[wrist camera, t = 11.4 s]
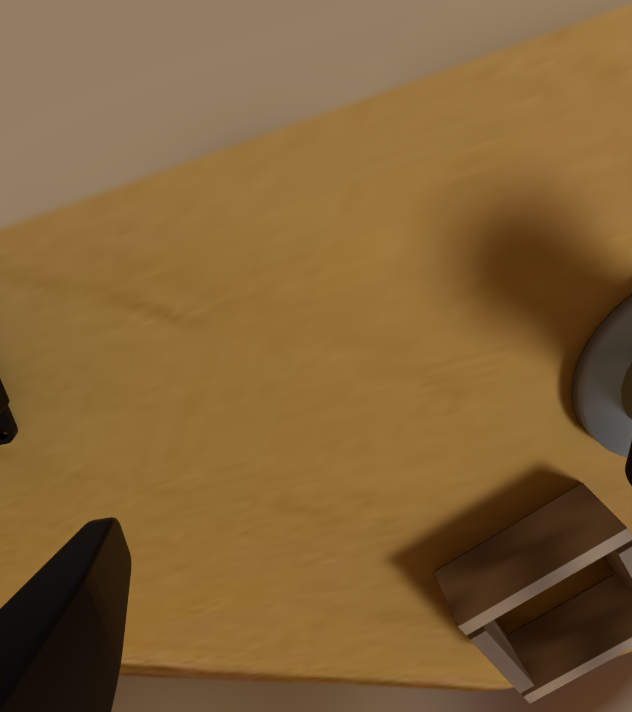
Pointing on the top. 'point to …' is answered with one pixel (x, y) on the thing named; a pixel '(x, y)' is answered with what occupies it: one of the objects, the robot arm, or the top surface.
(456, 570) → the frame
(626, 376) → the cork
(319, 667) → the top surface
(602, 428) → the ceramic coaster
